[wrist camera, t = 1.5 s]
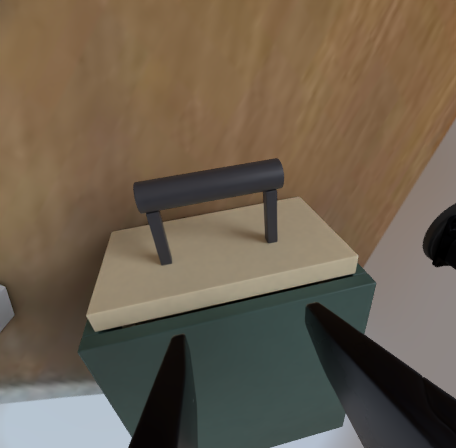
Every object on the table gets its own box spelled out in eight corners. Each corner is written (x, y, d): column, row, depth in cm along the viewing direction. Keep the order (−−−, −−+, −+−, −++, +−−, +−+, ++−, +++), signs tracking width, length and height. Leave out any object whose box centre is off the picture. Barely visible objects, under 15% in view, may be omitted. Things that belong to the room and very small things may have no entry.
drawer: (85, 164, 16) (36, 227, 10) (301, 129, 18) (375, 165, 12) (161, 358, 26) (159, 450, 20) (295, 326, 28) (332, 402, 22)
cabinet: (110, 240, 20) (76, 352, 12) (301, 203, 22) (377, 282, 14) (160, 365, 28) (158, 480, 21) (296, 332, 30) (342, 426, 22)
